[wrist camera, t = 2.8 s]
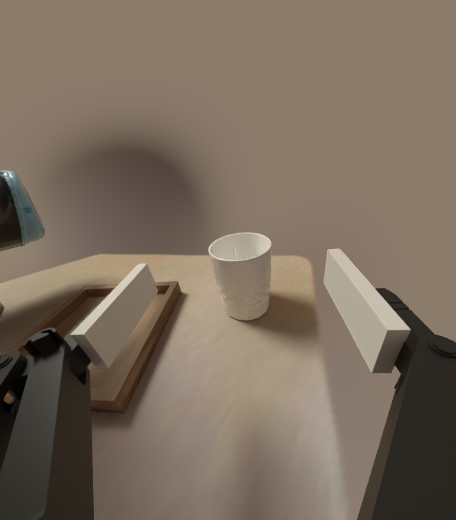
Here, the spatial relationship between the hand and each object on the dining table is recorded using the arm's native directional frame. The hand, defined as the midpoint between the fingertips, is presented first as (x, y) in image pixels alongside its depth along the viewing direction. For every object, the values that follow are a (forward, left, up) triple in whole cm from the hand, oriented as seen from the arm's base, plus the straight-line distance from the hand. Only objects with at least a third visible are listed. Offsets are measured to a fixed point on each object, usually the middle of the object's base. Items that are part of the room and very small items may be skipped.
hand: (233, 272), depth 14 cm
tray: (-20, -6, -13) cm, 25 cm away
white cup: (-5, +9, -13) cm, 16 cm away
